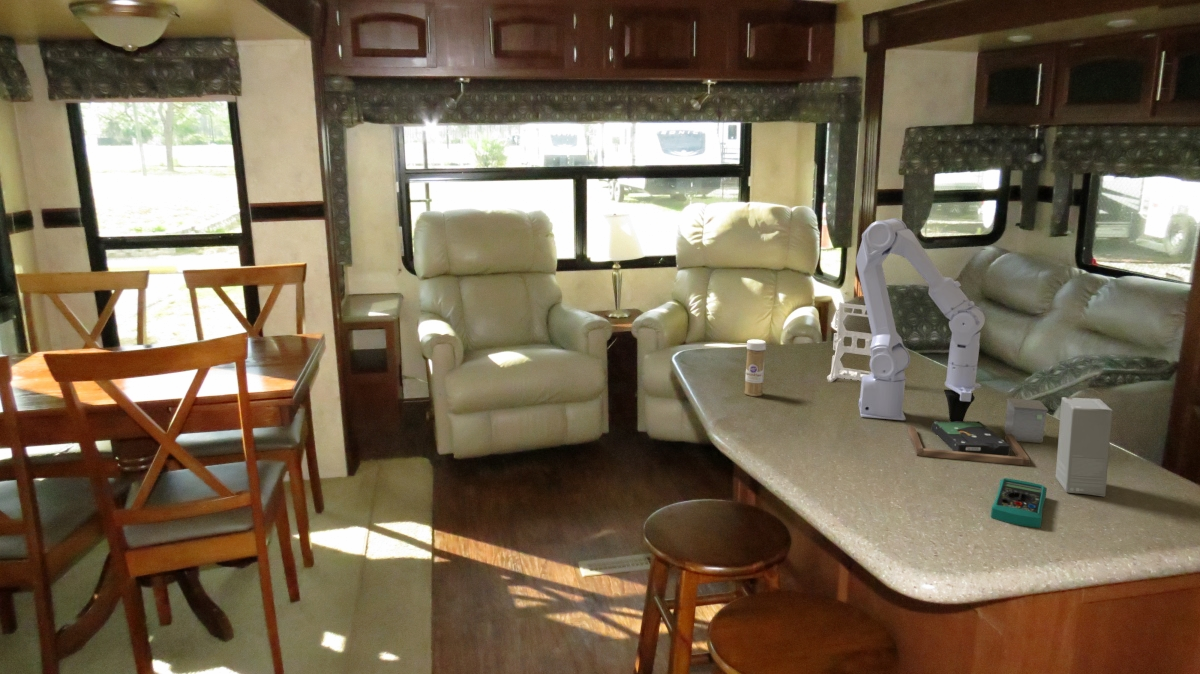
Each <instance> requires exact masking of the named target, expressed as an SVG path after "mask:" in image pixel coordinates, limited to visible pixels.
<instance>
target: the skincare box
mask: <svg viewBox="0 0 1200 674" xmlns="http://www.w3.org/2000/svg"><path fill="white" fill-rule="evenodd" d="M1060 403H1061V404H1060V416H1059V428H1058V429H1059V430H1058V431H1059V432H1058V442H1057V453H1056V465H1055V467H1056V468H1055V475H1054V476H1055V479H1056V480H1057V481H1058V482H1059V484H1060V486H1061V487H1062V488H1063V490H1064V491H1065V492H1066V493H1069V494H1070V493H1071V494H1082V495H1091V496H1098V497H1105V496H1106V494H1107V493H1106V491H1107V479H1108V465H1109V455H1110V444H1111V443H1110V441H1111V431H1112V430H1111V429H1112V419H1113V412H1114V411H1113V409H1112V408H1110V407H1109V406H1108V404H1106V403H1105V402H1104V401H1103V400H1102V399H1101V398H1089V397H1087V398H1085V397H1083V398H1081V397H1067V396H1066V397H1065V396H1062V397H1061V402H1060Z"/></svg>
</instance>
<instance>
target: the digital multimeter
mask: <svg viewBox="0 0 1200 674" xmlns="http://www.w3.org/2000/svg"><path fill="white" fill-rule="evenodd" d="M1047 490H1048V488H1047V487H1046V486H1044V485H1043V484H1040V483H1035V482H1030V481H1025V480H1020V479H1015V478H1014V479H1013V478H1007V477H1004V478H1002V479H1000V482H999V487H998V491H997V494H996V497H995V499H994V502H993V504H992V506H991V509H990V510H991V511H990V518H991V519H994V520H998V521H1000V522H1004V523H1008V524H1012V525H1017V526H1023V527H1027V528H1028V527H1029V528H1036V529H1039V528H1041V526H1042V521H1043V520H1042V518H1043V508H1044V505H1045V500H1046V498H1047Z"/></svg>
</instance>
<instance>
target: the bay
mask: <svg viewBox="0 0 1200 674" xmlns="http://www.w3.org/2000/svg"><path fill="white" fill-rule="evenodd" d="M907 427H908V428H907V432H908V434H909V437H910V440H911V443H912V446H913V448H914V449H913V450H914V452H915V454H916V456H919V457H926V458H927V457H929V458H938V459H940V458H941V459H947V460H948V459H949V460H950V459H951V460H961V461H971V462H972V461H973V462H981V463H983V462H984V463H992V464H993V463H994V464H1004V465H1005V464H1006V465H1015V466H1026V467H1030V465H1031V458H1030V456H1028V455H1027V453H1026V452H1025V450H1024V449H1023V448H1022V446H1021V445H1020V444H1019V441H1016V439H1015V438H1014V436H1013V435H1011V434H1006V433H1005V437H1004V441H1005V442H1007V443H1008V444H1009V445H1010V450H1012V451H1013V453H1014V455H1015V456H1014V455H1013V456H1012V455H1011V456H1010V455H1009V456H1003V455H991V454H980V453H969V452H958V451H953V450H945V449H933V448H924V447H923V445H922V442H921V440H920V437H919V435H918V432H917V429H916V426H915V425H908V426H907Z"/></svg>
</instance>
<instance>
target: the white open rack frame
mask: <svg viewBox="0 0 1200 674" xmlns="http://www.w3.org/2000/svg"><path fill="white" fill-rule="evenodd" d="M838 304H839V305H838V310H835V318H834V328H835V329H837V330H836V332H835V333H833V342H832V343H833V344H832V345H833V347H832V350H833V351H835V353H834V354H833V355H832V358H831V371H830V374H829V375H827V376H826V380H827V382H828V383H833V382H834V381H835V380H837V379H838V378H839V379H844V378H845V379H846V380H850V379H852V380H851V381H857V380H859V381H858V382H861V381H862V376H863V375H872V371H867V370H864V369H863V370H862V369H855V368H848V367H844V365H843V363H842V361H841V358H842V357H843V355H844V354H845V353H847V354H848V353H849V354H856V355H862V356H863V355H865V356H870V357H871V351H870V346H871V342H872V338H873V337H872V333H868V332H859V331H852V330H847V328H846V327H845V324H844V322H845V320H846V318H847V317H848V316H856V317H864V318H868V314H866V313H867V310H866V305H862V304H854V303H843V302H839V303H838ZM845 308H846V309H852V310H851V312H847V311H845ZM856 309H857V310H861V313H856V312H855V310H856ZM854 312H855V313H854ZM845 337H846V338H851V345H849V346H847V345H845V343H844V340H845ZM858 339H861V340H862V339H863V340H864V341H865V343H864V344H865V345H864V348H862V347H858V344H857V342H858Z"/></svg>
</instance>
